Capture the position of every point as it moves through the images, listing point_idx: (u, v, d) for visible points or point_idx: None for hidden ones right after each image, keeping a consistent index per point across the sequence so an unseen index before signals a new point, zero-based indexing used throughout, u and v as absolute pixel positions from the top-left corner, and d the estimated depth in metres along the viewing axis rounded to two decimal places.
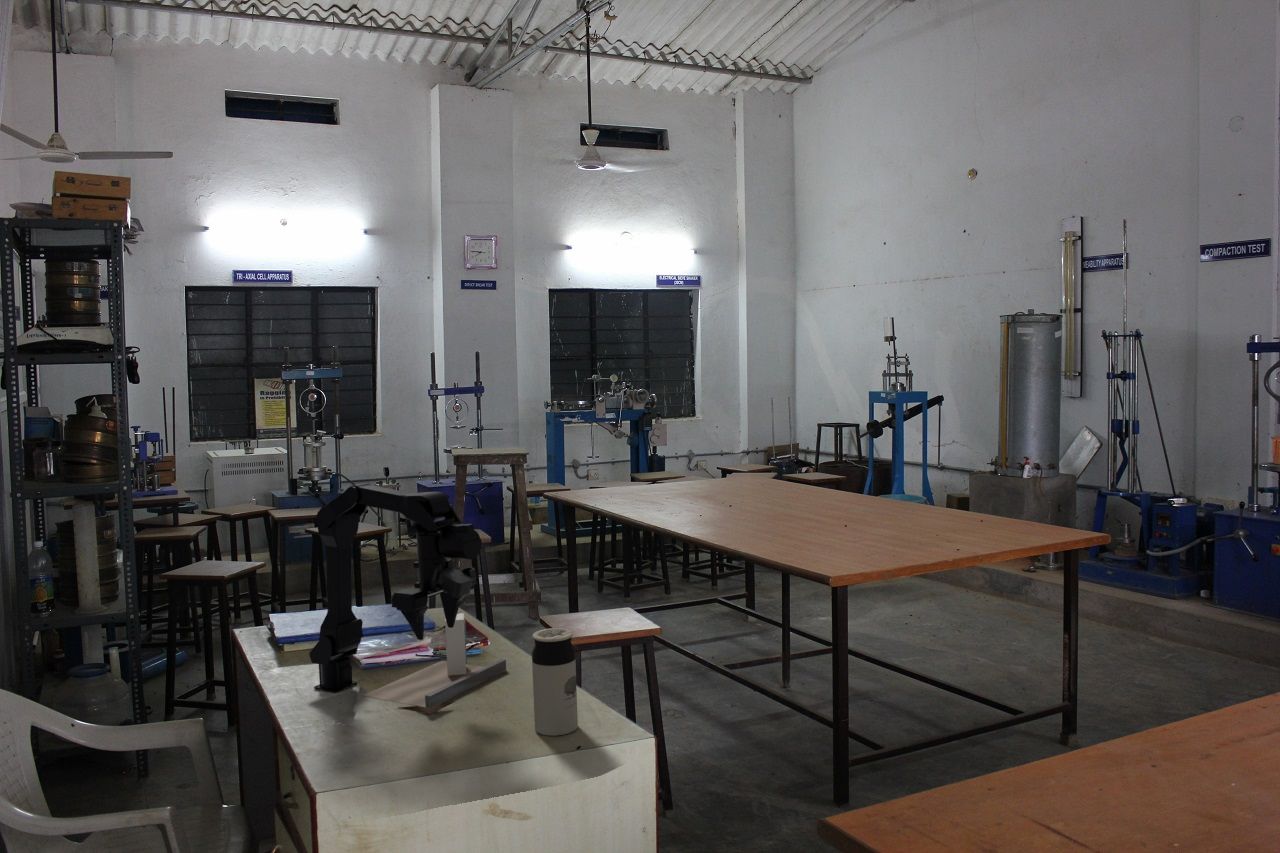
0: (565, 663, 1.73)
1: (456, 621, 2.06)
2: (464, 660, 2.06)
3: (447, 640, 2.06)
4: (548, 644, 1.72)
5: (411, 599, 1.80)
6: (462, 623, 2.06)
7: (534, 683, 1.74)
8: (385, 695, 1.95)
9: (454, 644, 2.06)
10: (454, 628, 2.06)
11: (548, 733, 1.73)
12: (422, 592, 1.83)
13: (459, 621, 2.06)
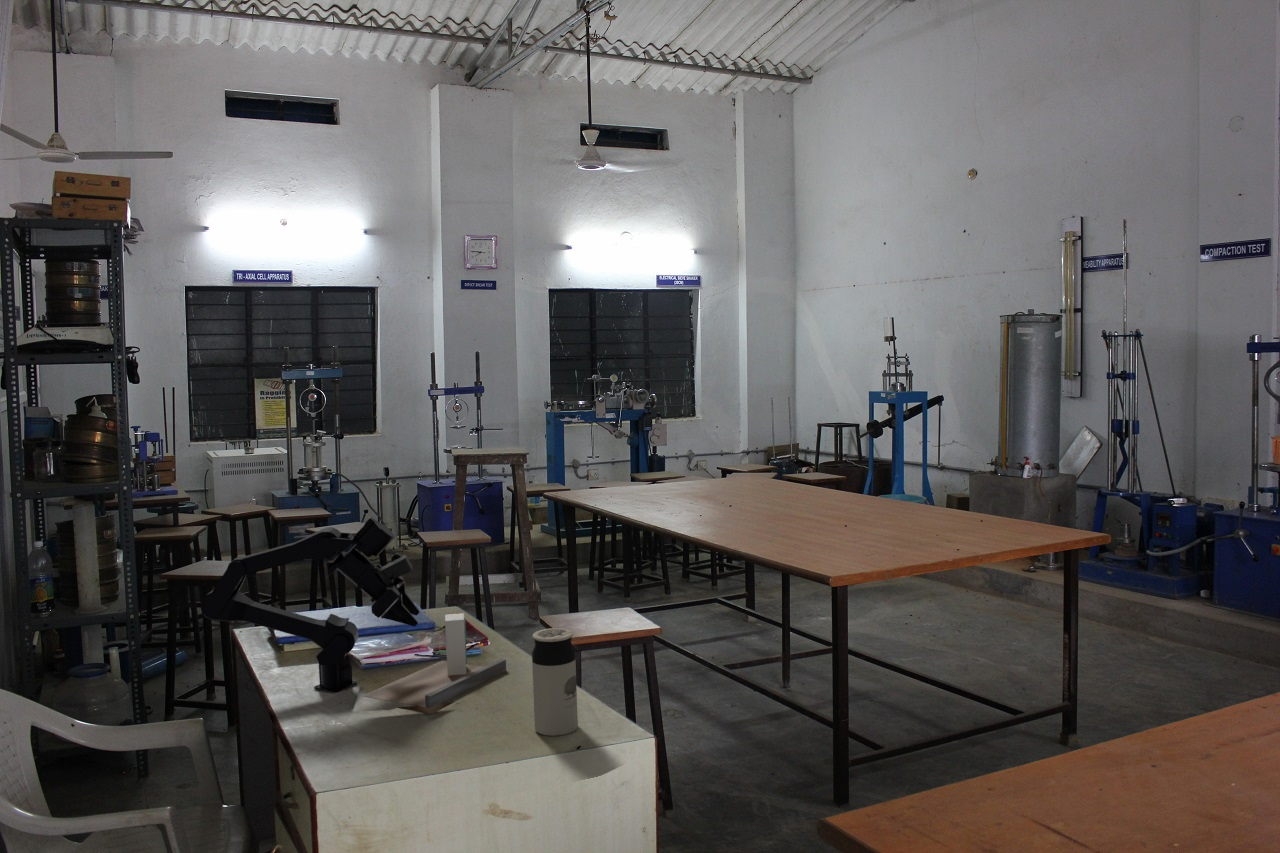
0: (565, 663, 1.73)
1: (456, 621, 2.06)
2: (464, 660, 2.06)
3: (447, 640, 2.06)
4: (548, 644, 1.72)
5: (389, 593, 1.96)
6: (462, 623, 2.06)
7: (534, 683, 1.74)
8: (385, 695, 1.95)
9: (454, 644, 2.06)
10: (454, 628, 2.06)
11: (548, 733, 1.73)
12: (388, 587, 1.99)
13: (459, 621, 2.06)
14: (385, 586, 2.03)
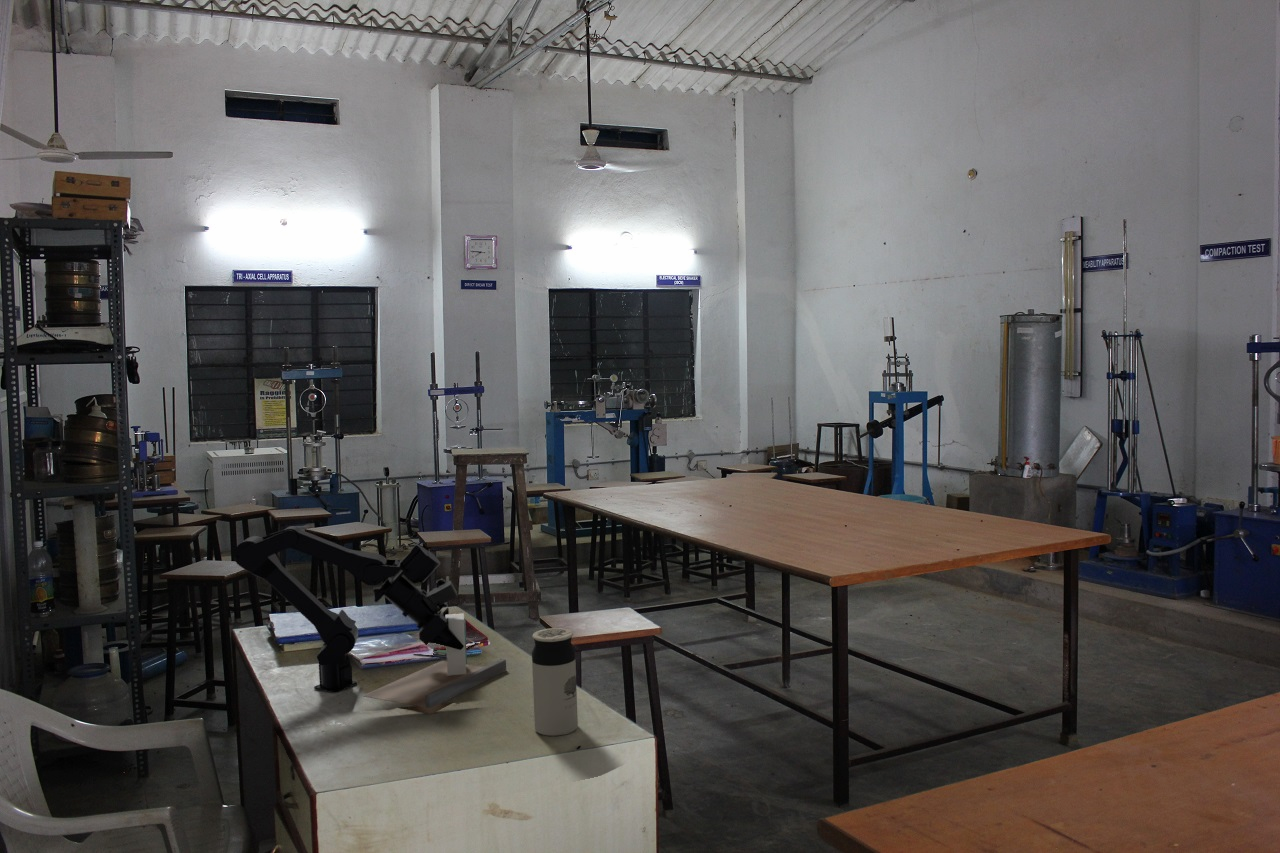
0: (565, 663, 1.73)
1: (456, 621, 2.06)
2: (464, 660, 2.06)
3: None
4: (548, 644, 1.72)
5: (437, 619, 1.99)
6: (462, 623, 2.06)
7: (534, 683, 1.74)
8: (385, 695, 1.95)
9: None
10: (454, 628, 2.06)
11: (548, 733, 1.73)
12: (435, 614, 2.01)
13: (459, 621, 2.06)
14: (431, 612, 2.05)
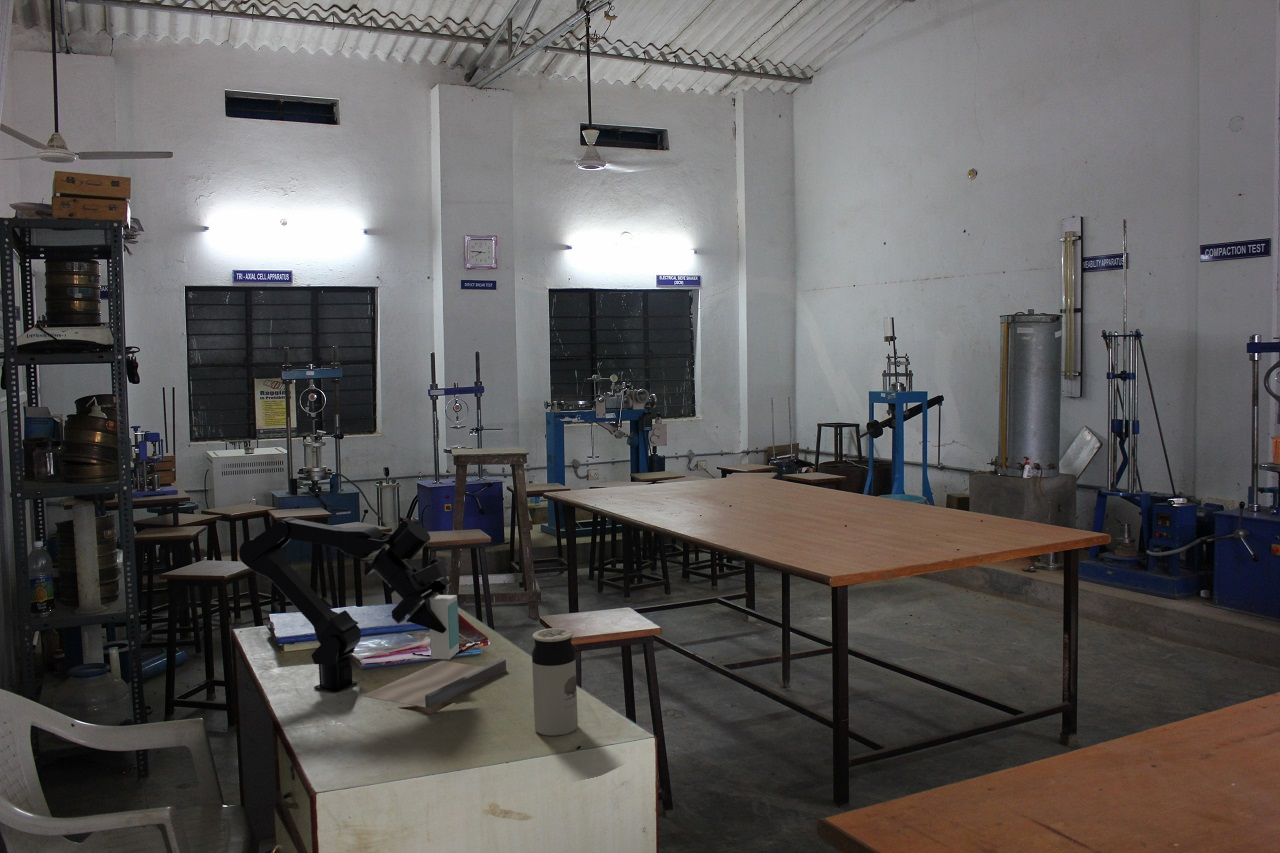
0: (565, 663, 1.73)
1: (439, 603, 1.96)
2: (447, 644, 1.96)
3: None
4: (548, 644, 1.72)
5: (407, 599, 1.90)
6: (445, 605, 1.96)
7: (534, 683, 1.74)
8: (385, 695, 1.95)
9: None
10: (437, 610, 1.96)
11: (548, 733, 1.73)
12: (412, 593, 1.93)
13: (442, 603, 1.96)
14: (415, 591, 1.97)
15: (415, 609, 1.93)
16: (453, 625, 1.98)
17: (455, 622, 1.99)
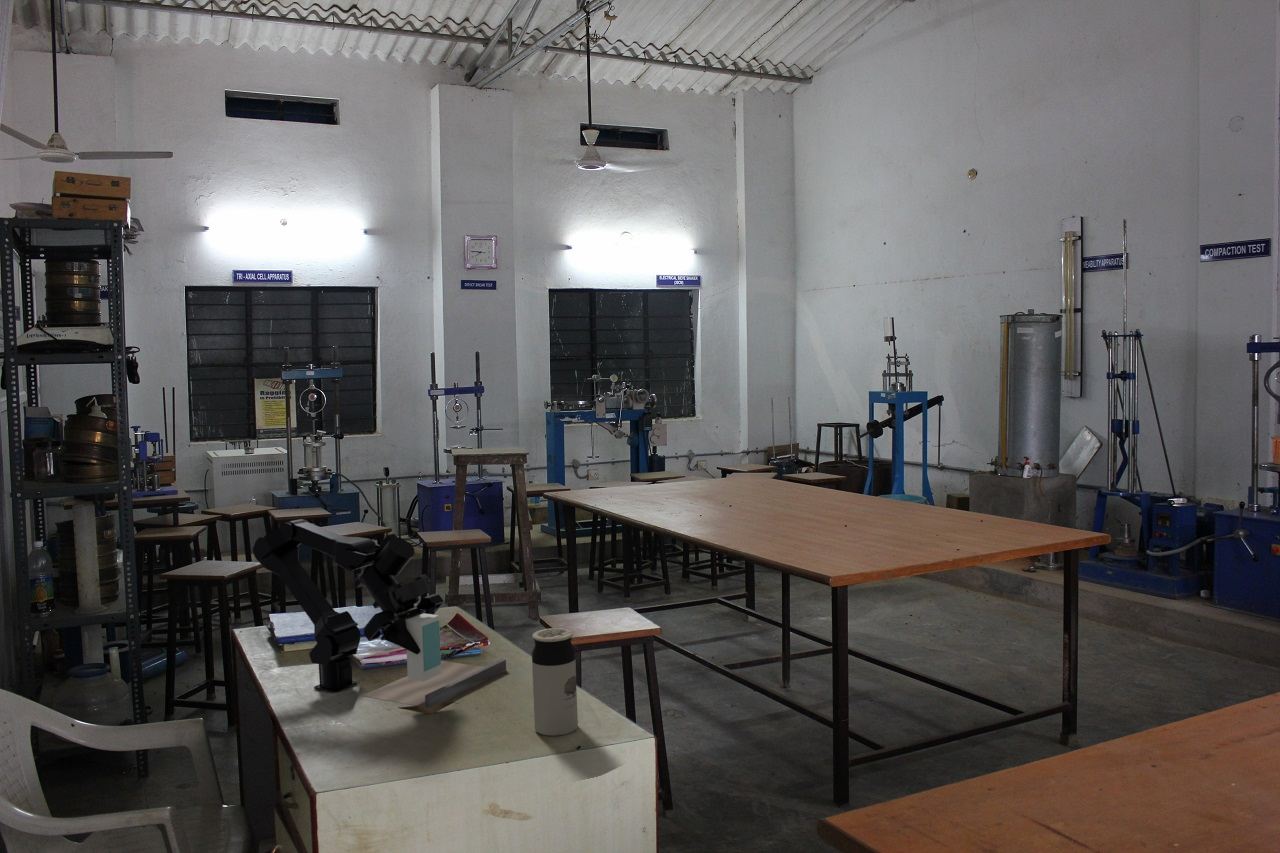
0: (565, 663, 1.73)
1: (414, 622, 1.89)
2: (421, 666, 1.89)
3: None
4: (548, 644, 1.72)
5: (376, 617, 1.85)
6: (419, 626, 1.88)
7: (534, 683, 1.74)
8: (385, 695, 1.95)
9: None
10: (413, 629, 1.89)
11: (548, 733, 1.73)
12: (385, 610, 1.88)
13: (417, 623, 1.89)
14: (395, 608, 1.92)
15: (388, 627, 1.88)
16: (431, 646, 1.91)
17: (434, 643, 1.92)
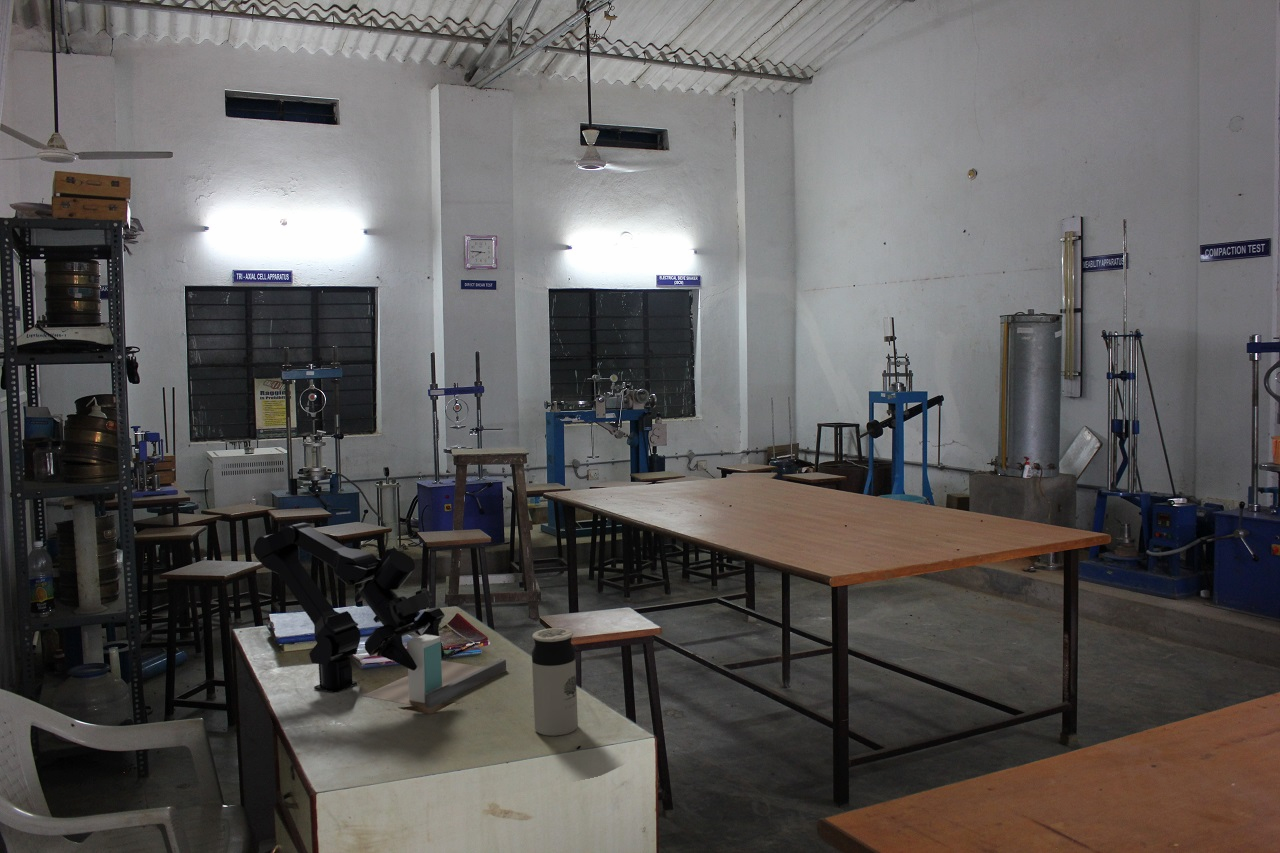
0: (565, 663, 1.73)
1: (416, 644, 1.89)
2: (422, 688, 1.89)
3: None
4: (548, 644, 1.72)
5: (377, 632, 1.85)
6: (421, 647, 1.89)
7: (534, 683, 1.74)
8: (385, 695, 1.95)
9: None
10: (414, 651, 1.90)
11: (548, 733, 1.73)
12: (386, 625, 1.88)
13: (418, 645, 1.89)
14: (395, 622, 1.92)
15: (384, 644, 1.87)
16: (432, 668, 1.91)
17: (436, 665, 1.92)
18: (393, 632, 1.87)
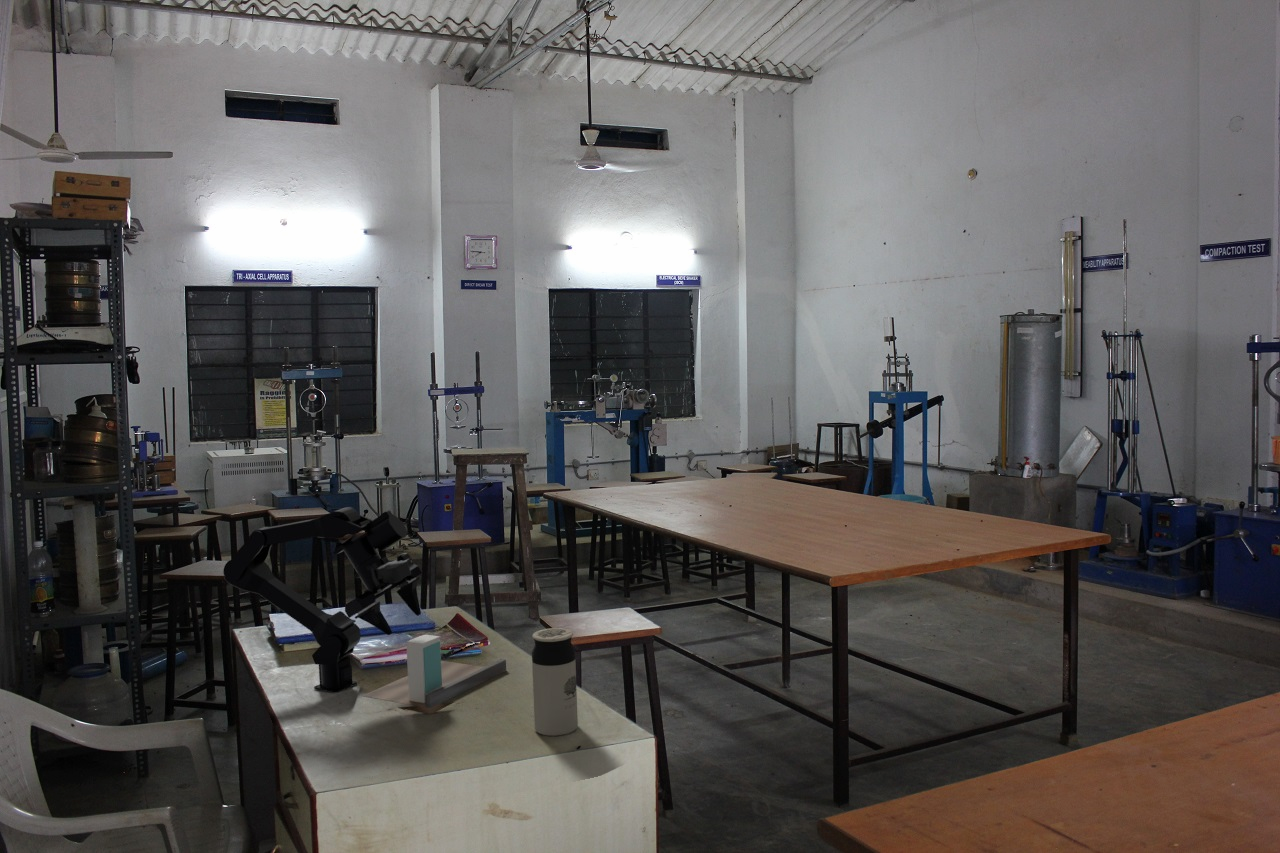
0: (565, 663, 1.73)
1: (415, 644, 1.89)
2: (422, 688, 1.89)
3: (408, 663, 1.90)
4: (548, 644, 1.72)
5: (358, 601, 1.92)
6: (420, 647, 1.89)
7: (534, 683, 1.74)
8: (385, 695, 1.95)
9: (414, 668, 1.90)
10: (414, 651, 1.90)
11: (548, 733, 1.73)
12: (367, 592, 1.95)
13: (418, 645, 1.89)
14: (376, 585, 1.99)
15: (362, 610, 1.95)
16: (432, 668, 1.91)
17: (435, 664, 1.92)
18: (373, 601, 1.94)
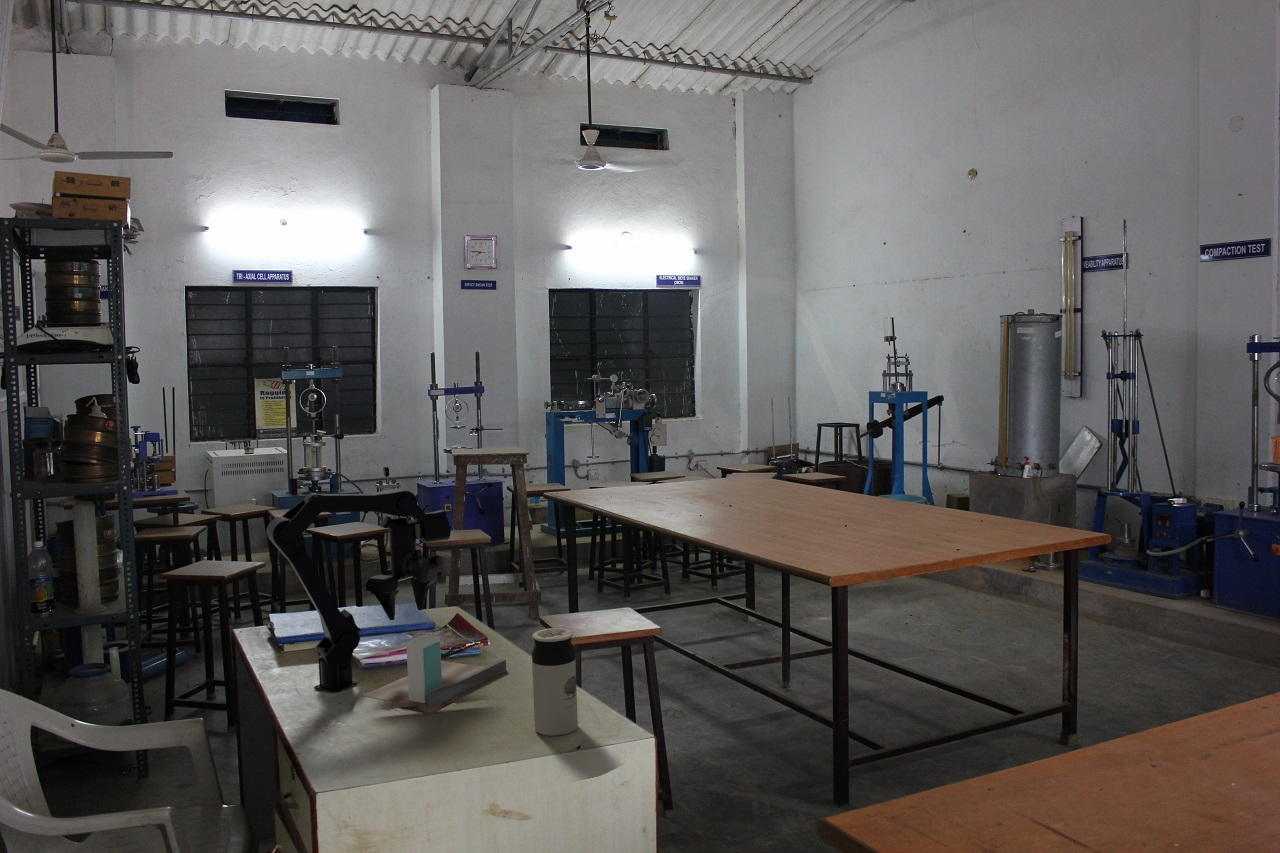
0: (565, 663, 1.73)
1: (415, 644, 1.89)
2: (422, 688, 1.89)
3: (408, 663, 1.90)
4: (548, 644, 1.72)
5: (383, 583, 2.02)
6: (420, 647, 1.89)
7: (534, 683, 1.74)
8: (385, 695, 1.95)
9: (414, 668, 1.90)
10: (414, 651, 1.90)
11: (548, 733, 1.73)
12: (393, 577, 2.05)
13: (418, 645, 1.89)
14: (401, 572, 2.09)
15: (381, 591, 2.05)
16: (432, 668, 1.91)
17: (435, 664, 1.92)
18: (395, 588, 2.05)
